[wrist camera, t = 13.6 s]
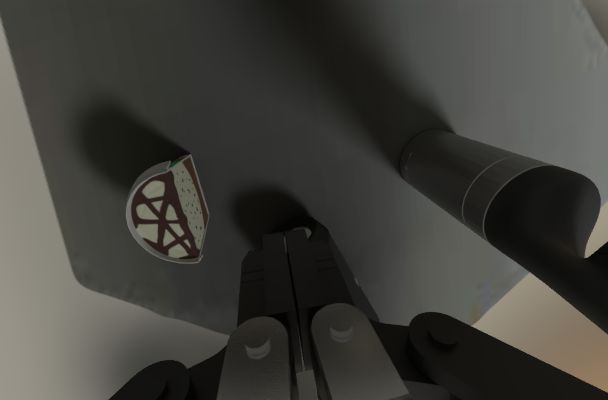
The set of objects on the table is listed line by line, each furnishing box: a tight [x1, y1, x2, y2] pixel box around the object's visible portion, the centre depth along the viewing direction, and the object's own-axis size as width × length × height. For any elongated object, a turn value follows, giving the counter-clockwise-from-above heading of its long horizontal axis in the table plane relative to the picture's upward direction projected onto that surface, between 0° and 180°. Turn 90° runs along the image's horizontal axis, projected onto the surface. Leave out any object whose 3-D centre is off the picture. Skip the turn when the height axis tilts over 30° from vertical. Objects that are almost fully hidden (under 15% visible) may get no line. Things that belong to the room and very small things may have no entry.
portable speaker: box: [273, 216, 379, 322], centre depth 44 cm, size 26×10×10 cm, turn 28°
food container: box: [126, 154, 209, 263], centre depth 33 cm, size 12×6×10 cm, turn 7°
